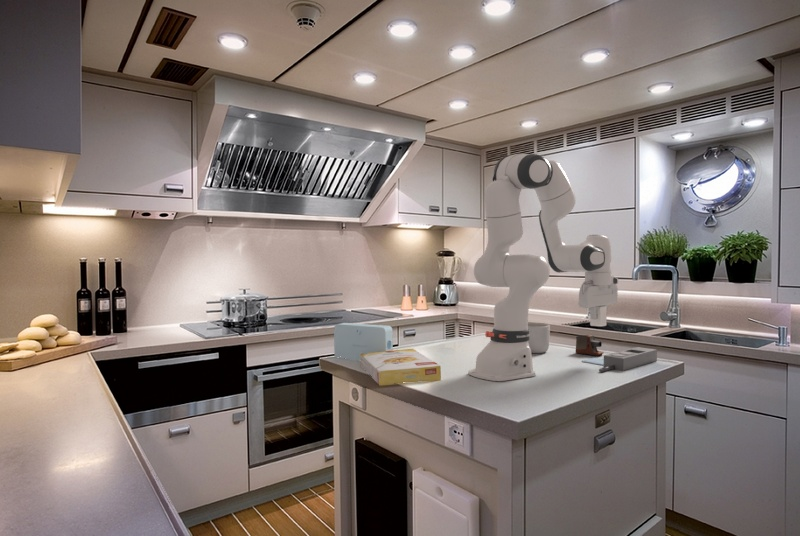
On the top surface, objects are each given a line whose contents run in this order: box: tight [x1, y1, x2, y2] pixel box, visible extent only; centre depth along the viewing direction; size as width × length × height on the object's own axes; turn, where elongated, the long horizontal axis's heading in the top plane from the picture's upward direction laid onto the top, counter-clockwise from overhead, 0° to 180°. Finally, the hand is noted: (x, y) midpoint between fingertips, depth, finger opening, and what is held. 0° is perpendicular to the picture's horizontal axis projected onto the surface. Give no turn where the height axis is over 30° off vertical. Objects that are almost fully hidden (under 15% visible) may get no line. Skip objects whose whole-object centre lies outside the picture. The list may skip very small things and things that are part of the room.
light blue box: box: [333, 322, 394, 361], centre depth 183 cm, size 23×6×13 cm, turn 60°
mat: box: [581, 357, 604, 366], centre depth 175 cm, size 8×8×1 cm
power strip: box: [598, 346, 658, 373], centre depth 169 cm, size 33×7×4 cm, turn 128°
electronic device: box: [575, 334, 604, 358], centre depth 188 cm, size 4×10×8 cm, turn 44°
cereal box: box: [360, 348, 442, 386], centre depth 162 cm, size 20×6×28 cm
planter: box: [528, 322, 551, 354], centre depth 195 cm, size 12×12×11 cm
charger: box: [589, 306, 607, 327], centre depth 174 cm, size 4×4×7 cm
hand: (598, 318), depth 174 cm, fingers closed on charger, 4 cm apart
